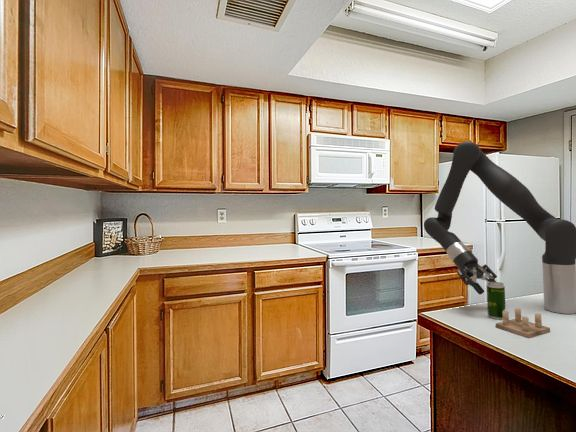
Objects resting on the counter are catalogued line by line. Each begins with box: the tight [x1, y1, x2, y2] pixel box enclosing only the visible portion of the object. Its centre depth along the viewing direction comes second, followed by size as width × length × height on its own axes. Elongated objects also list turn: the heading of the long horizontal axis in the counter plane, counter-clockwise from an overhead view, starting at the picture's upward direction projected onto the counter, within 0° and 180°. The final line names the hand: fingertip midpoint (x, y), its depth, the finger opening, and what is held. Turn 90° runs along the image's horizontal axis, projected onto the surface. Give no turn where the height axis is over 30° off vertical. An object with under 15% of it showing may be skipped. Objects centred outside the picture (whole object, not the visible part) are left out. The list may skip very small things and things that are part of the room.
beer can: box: [486, 281, 507, 321], centre depth 111 cm, size 5×5×12 cm
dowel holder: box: [495, 307, 551, 339], centre depth 100 cm, size 10×10×5 cm
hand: (490, 291), depth 113 cm, fingers open, 8 cm apart
